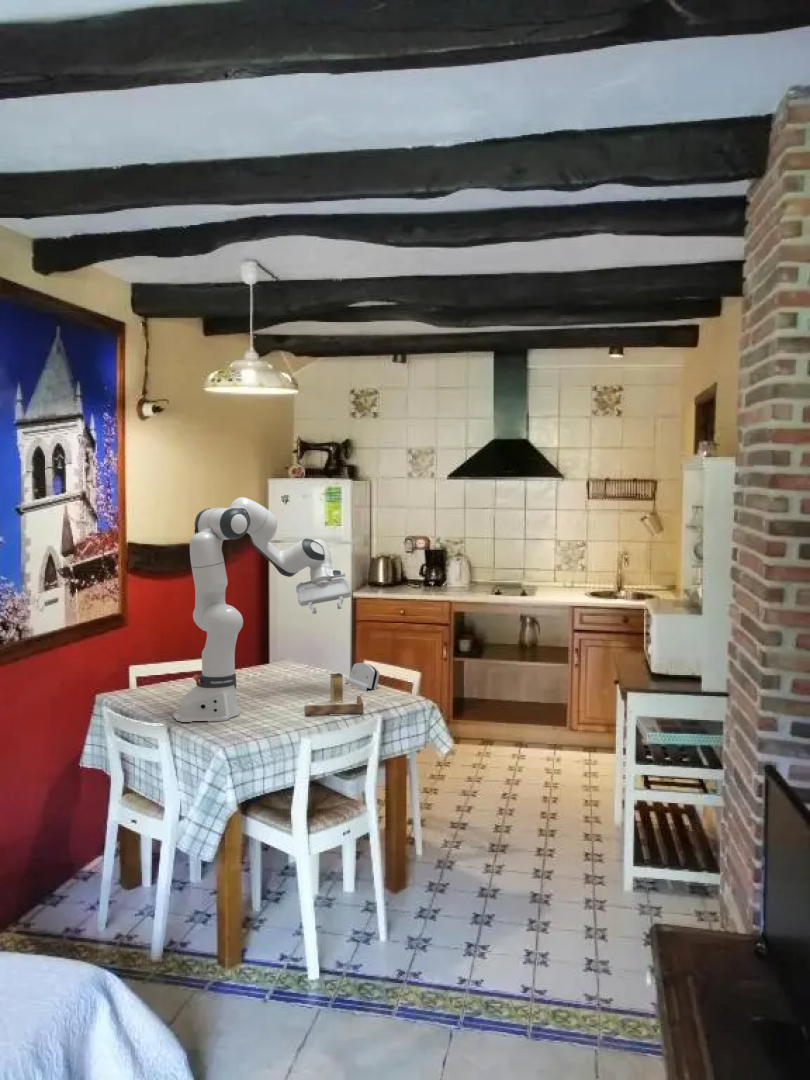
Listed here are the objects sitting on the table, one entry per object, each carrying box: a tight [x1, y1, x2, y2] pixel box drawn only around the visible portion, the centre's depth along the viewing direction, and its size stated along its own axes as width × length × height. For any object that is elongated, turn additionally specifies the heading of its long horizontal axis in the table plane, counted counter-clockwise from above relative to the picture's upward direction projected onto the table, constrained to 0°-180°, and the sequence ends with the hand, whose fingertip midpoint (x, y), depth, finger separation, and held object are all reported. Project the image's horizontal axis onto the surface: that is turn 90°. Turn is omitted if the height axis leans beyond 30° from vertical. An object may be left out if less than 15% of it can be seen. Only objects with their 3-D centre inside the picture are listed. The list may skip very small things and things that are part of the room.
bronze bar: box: [330, 672, 344, 703], centre depth 319 cm, size 4×4×10 cm
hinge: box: [344, 662, 380, 692], centre depth 343 cm, size 17×5×10 cm, turn 33°
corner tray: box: [304, 695, 364, 717], centre depth 306 cm, size 20×12×4 cm, turn 98°
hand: (327, 610), depth 324 cm, fingers open, 8 cm apart
